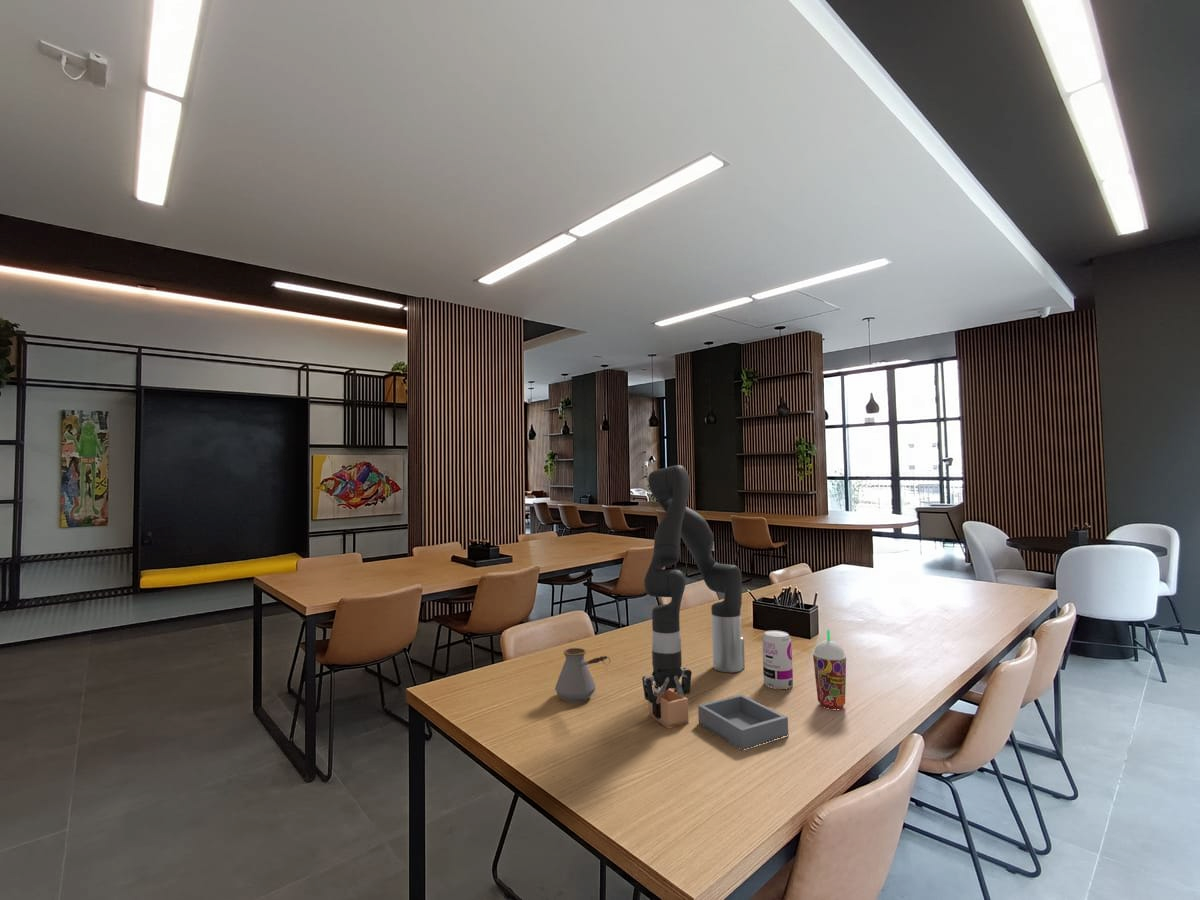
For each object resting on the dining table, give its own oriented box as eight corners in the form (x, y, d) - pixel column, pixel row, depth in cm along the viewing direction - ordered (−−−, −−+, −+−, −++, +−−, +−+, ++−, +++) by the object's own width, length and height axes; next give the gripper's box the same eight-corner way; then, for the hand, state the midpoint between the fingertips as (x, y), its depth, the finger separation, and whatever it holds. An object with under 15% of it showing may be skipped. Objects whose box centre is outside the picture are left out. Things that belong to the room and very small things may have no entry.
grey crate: (741, 712, 142) (741, 694, 143) (788, 736, 128) (787, 717, 128) (698, 723, 136) (698, 705, 136) (742, 751, 122) (742, 730, 122)
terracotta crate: (668, 710, 144) (667, 687, 145) (688, 723, 136) (687, 698, 137) (649, 714, 142) (648, 691, 142) (668, 728, 134) (668, 703, 134)
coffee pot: (547, 696, 156) (547, 642, 157) (580, 686, 162) (580, 635, 163) (590, 721, 138) (589, 661, 139) (625, 709, 145) (624, 652, 146)
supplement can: (794, 682, 162) (792, 631, 163) (791, 692, 155) (789, 638, 156) (766, 678, 166) (764, 628, 167) (762, 688, 158) (760, 635, 159)
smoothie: (834, 715, 139) (830, 635, 140) (807, 704, 147) (804, 628, 148) (855, 708, 143) (852, 631, 144) (829, 697, 150) (826, 624, 152)
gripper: (680, 639, 147) (682, 703, 146) (635, 648, 140) (636, 715, 139) (698, 647, 140) (699, 714, 139) (650, 656, 134) (652, 726, 133)
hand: (668, 714), depth 139 cm, fingers closed on terracotta crate, 6 cm apart
